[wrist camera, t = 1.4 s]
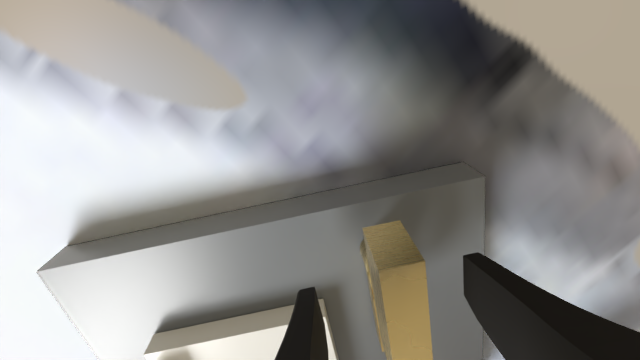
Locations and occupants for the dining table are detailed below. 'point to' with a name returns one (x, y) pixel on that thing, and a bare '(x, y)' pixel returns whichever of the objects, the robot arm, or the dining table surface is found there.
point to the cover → (232, 338)
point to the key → (397, 291)
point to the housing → (279, 266)
